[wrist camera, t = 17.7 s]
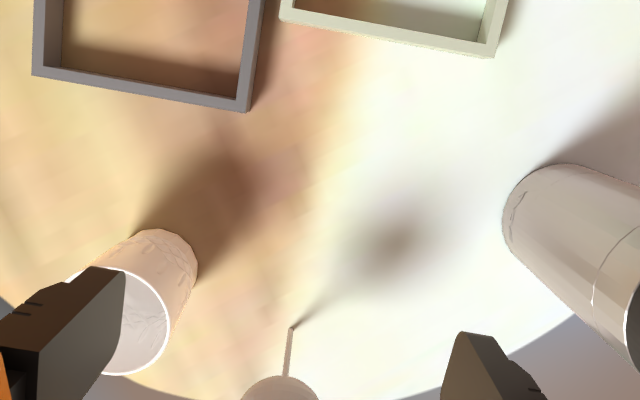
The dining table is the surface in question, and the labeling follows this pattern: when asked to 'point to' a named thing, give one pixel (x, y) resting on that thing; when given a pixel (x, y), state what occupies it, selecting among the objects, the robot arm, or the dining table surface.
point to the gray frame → (49, 66)
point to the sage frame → (481, 49)
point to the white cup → (148, 294)
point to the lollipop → (281, 383)
